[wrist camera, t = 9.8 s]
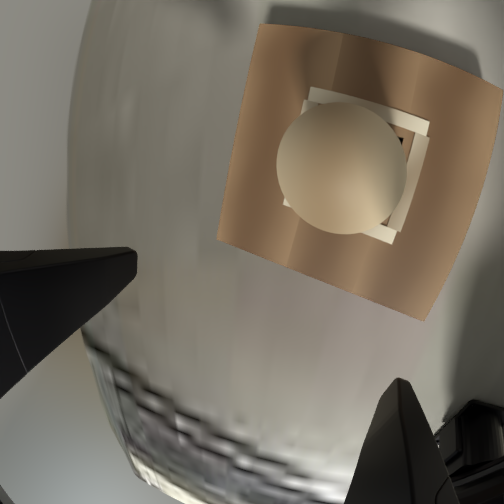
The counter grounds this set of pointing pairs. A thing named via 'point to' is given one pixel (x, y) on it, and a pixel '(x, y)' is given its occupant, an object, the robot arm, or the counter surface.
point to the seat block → (412, 140)
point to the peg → (341, 168)
